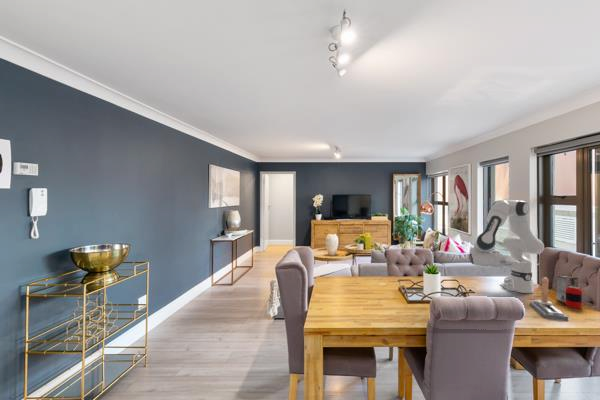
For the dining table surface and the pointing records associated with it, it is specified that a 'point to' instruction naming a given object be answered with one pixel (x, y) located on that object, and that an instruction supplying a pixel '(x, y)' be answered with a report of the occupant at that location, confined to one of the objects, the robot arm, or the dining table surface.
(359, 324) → the dining table surface
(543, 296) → the tan tall piece
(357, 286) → the dining table surface
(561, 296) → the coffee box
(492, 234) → the robot arm
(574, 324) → the dining table surface
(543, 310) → the fader console
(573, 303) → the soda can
